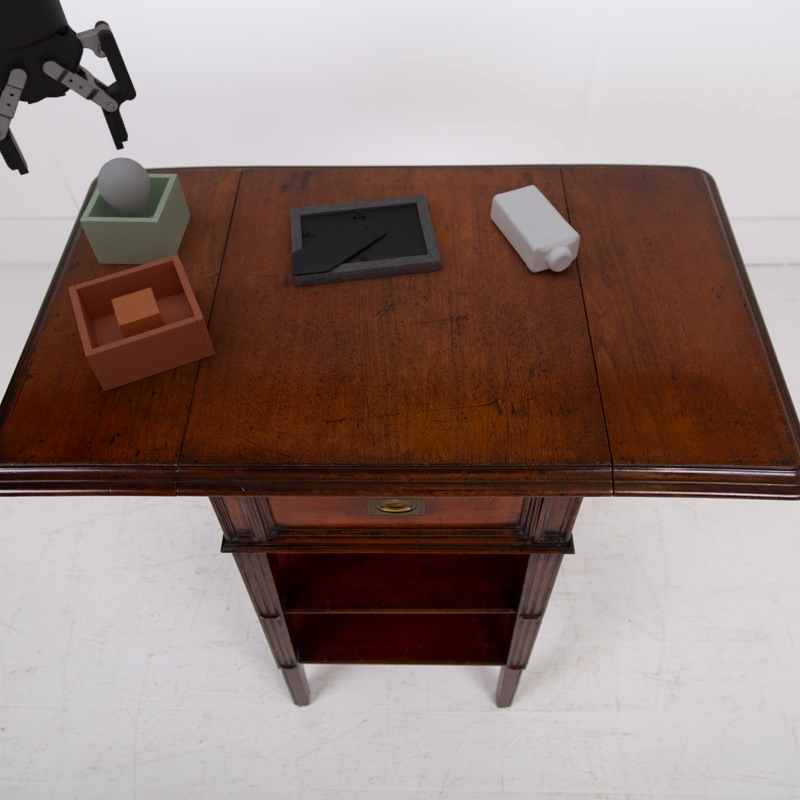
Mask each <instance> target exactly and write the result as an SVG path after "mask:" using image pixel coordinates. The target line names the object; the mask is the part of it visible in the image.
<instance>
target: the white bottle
mask: <svg viewBox="0 0 800 800" xmlns="http://www.w3.org/2000/svg"><path fill="white" fill-rule="evenodd" d="M490 220H491V221H493V223H494V224H495V225H496V227H497V228H498V229H499V230H500V232H501V233H502V234H503V236H504V237H505V238H506V240H507V241H508V242H509V243H510V245H511V246H512V248H513V249H514V250H515V251H516V253H517V254H518V255H519V256H520V258H521V260H522V261H523V262H524V264H525V265H526V267H527V268H528V270H529V271H530V272H531V273H540V272H543V271H546V270H549V269H550V270H551V271H553V272H555V273H559V272H563V271H564V270H566V269H567V268H568V267H570V266H571V264H572V262H573V261H574V260H576V258H577V256H578V251H579V247H580V241H581V236H580V234H579V233H578V232H577V231H576V230H575V229H574V228H573V227H572V225H570V224H569V222H568V221H567V220H566V219H565V218H564V217H563V216H562V215H561V214H560V212H559V211H558V210H557V209H556V208H555V206H554V205H553V204H552V203H551V202H550V201H549V200H548V199H547V198H546V196H545V195H544V194H543V193H542V192H541V190H540V189H539V188H538V187H537V186H536V185H534V184H530V185H527V186H524V187H520V188H517V189H513V190H509V191H506V192H503V193H497V194H495V195H494V197H493V198H492V201H491V208H490Z"/></svg>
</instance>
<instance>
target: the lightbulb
mask: <svg viewBox="0 0 800 800" xmlns="http://www.w3.org/2000/svg"><path fill="white" fill-rule="evenodd" d="M148 174H149V173H148V172H147V170H146V169H145V167H144V166H143V165H142V164H140V163H139V162H138V161H136V160H134V159H132V158H129V157H122V156H121V157H115V158H111V159H109V160H107V162H105V163H104V164H103V165H102V166H101V168H100V169H99V171H98V174H97V182H96V183H97V186H98V189H99V191H100V194H101V195H102V197H103V198H104V199H105V201H106V202H108V203H109V204H110V205H111V206H113V207H114V208H115V209H117V210H118V211H119V212H120V214H121V215H122V217H129V218H149V211H148V198H149V195H150V190H151V182H150V178H149V175H148Z"/></svg>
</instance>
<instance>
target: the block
mask: <svg viewBox="0 0 800 800" xmlns="http://www.w3.org/2000/svg"><path fill="white" fill-rule="evenodd" d="M111 301H112V304H113V308H114V311H115V314H116V317H117V321H118V324H119V327H120V329H121V331H122V333H123V335H124V337H125V338H129V337H132V336H135V335H138V334H141V333H144V332H147V331H150V330H153V329H156V328H160V327H163V326H166V325H165V323H164V320H163V317H162V314H161V312H160V309H159V307H158V304H157V302H156V299H155V297H154V294H153V291H152V289H151V287H150V288H147V289H144V290H141V291H137V292H134V293H131V294H128V295H124V296H121V297H118V298H115V299H112V300H111Z"/></svg>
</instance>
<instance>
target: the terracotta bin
mask: <svg viewBox="0 0 800 800" xmlns="http://www.w3.org/2000/svg"><path fill="white" fill-rule="evenodd" d="M150 287H151V289H152V291H153V294H154V297H155V299H156V302H157V304H158V307H159V309H160V312H161V314H162V317H163V320H164V323H165V325H166V326H163V327H160V328H156V329H153V330H150V331H147V332H144V333H141V334H138V335H135V336H132V337H129V338H125V337H124V335H123V333H122V331H121V329H120V327H119V324H118V321H117V317H116V314H115V311H114V308H113V304H112V301H111V300H112V299H115V298H118V297H121V296H124V295H128V294H131V293H134V292H137V291H141V290H144V289H147V288H150ZM192 288H193V287H192V286H191V283H190V281H189V278H188V276H187V273H186V271H185V268H184V267H183V264H182V261H181V259H180V257H179V254H178V253H177V255H173V256H170V257H167V258H164V259H160V260H157V261H154V262H150V263H147V264H139V265H138V266H133V267H131V268H127V269H125V270H120V271H118V272H114V273H110V274H108V275H105V276H101V277H98V278H95V279H91V280H88V281H83V282H81V283H77V284H75V285H70V286H68V288H67V289H68V292H69V293H68V294H69V297H70V299H71V304H72V308H73V312H74V317H75V320H76V324H77V327H78V332H79V336H80V340H81V344H82V348H83V351H84V355H85V358H86V360H87V362H88V364H89V366H90V367H91V369H92V371H93V373H94V375H95V377H96V378H97V380H98V382H99V384H100V386H101V388H102V390H103V392H107V391H110V390H111V391H112V390H113V389H116V388H119V387H122V386H125V385H128V384H131V383H135V382H137V381H140V380H144V379H146V378H148V377H152V376H155V375H158V374H160V373H164V372H166V371H170V370H172V369H175V368H179V367H181V366H184V365H188V364H190V363H193V362H196V361H199V360H202V359H205V358H209V357H211V356H214V355H216V351H215V348H214V345H213V342H212V339H211V336H210V333H209V329H208V327H207V324H206V321H205V318H204V315H203V312H202V311H201V308H200V306H199V303H198V300H197V298H196V295H195V293H194V290H193V289H192Z"/></svg>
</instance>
